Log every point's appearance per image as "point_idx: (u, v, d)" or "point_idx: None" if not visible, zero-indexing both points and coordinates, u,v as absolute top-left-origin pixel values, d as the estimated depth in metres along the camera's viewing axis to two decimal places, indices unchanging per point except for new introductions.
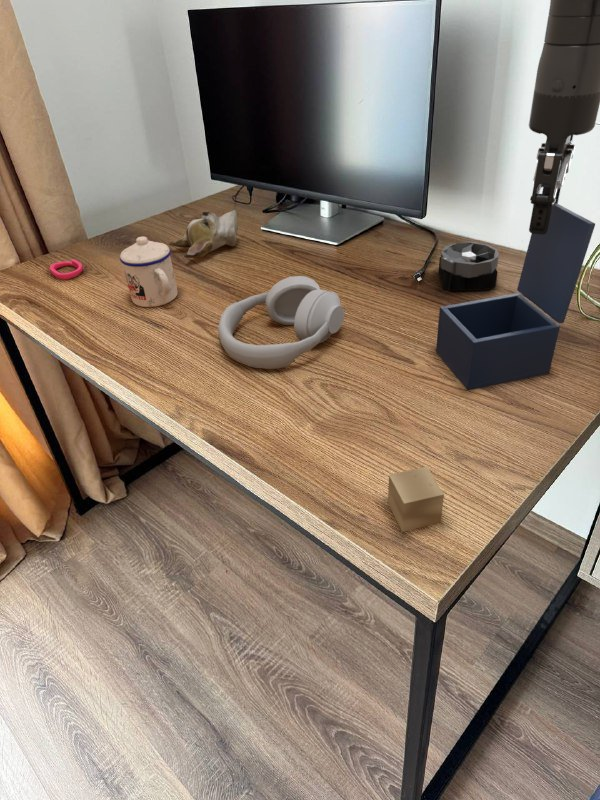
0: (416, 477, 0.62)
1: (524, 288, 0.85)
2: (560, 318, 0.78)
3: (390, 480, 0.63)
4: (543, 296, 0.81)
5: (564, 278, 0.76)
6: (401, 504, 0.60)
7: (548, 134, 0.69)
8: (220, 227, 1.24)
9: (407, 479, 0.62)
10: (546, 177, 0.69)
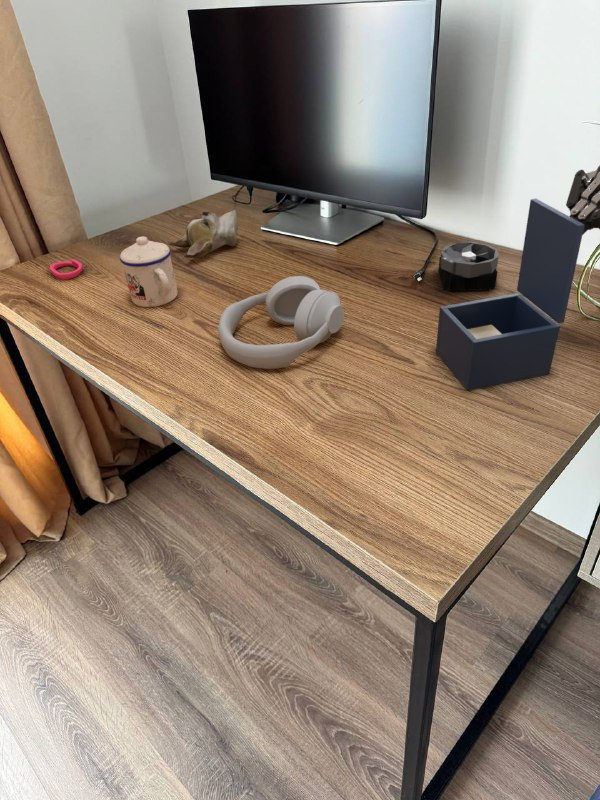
0: (485, 330, 0.84)
1: (523, 288, 0.85)
2: (559, 318, 0.78)
3: None
4: (542, 297, 0.81)
5: (559, 279, 0.76)
6: None
7: None
8: (220, 227, 1.24)
9: (478, 332, 0.84)
10: None
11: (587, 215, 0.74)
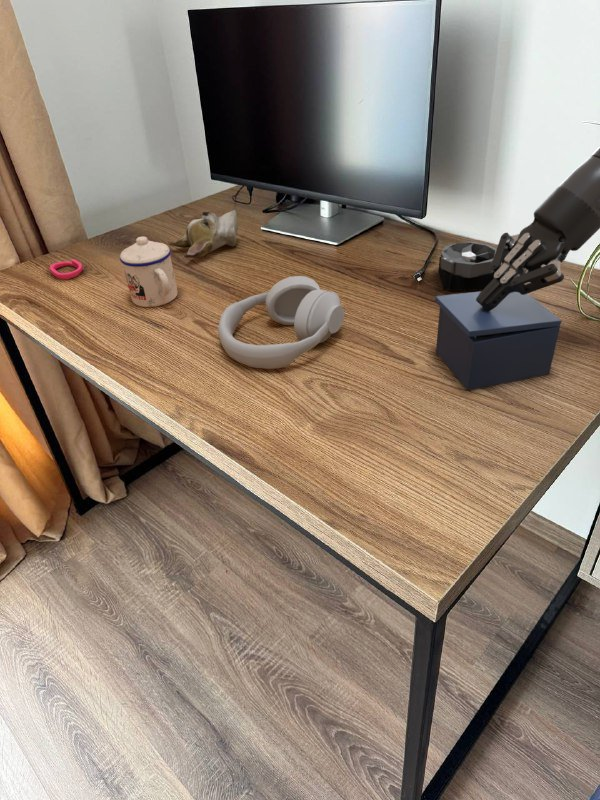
0: None
1: None
2: None
3: None
4: None
5: None
6: None
7: (567, 238, 0.73)
8: (220, 227, 1.24)
9: None
10: (539, 283, 0.74)
11: (508, 280, 0.77)
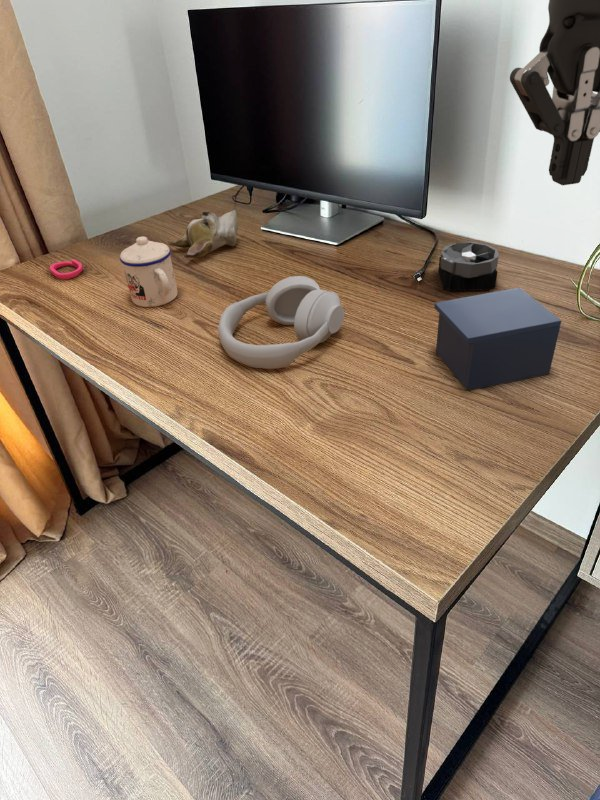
0: None
1: None
2: (555, 326, 0.79)
3: None
4: None
5: None
6: None
7: None
8: (220, 227, 1.24)
9: None
10: None
11: (599, 126, 0.49)
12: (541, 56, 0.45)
